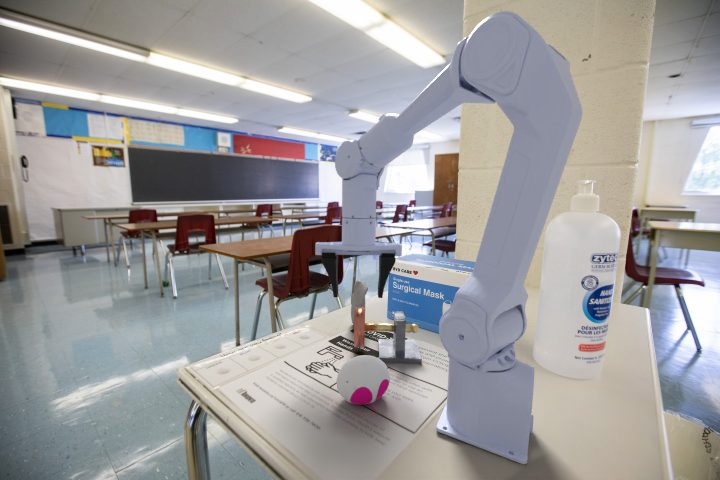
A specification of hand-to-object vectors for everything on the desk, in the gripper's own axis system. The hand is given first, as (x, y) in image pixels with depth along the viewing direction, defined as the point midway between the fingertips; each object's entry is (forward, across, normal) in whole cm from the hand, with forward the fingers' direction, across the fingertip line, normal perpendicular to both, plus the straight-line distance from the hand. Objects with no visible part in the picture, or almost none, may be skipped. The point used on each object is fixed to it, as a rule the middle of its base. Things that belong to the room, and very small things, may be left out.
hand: (357, 295), depth 53 cm
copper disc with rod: (+9, -5, 0) cm, 11 cm away
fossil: (+10, 0, -12) cm, 16 cm away
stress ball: (+11, -1, +13) cm, 17 cm away
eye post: (+10, -7, 0) cm, 13 cm away
